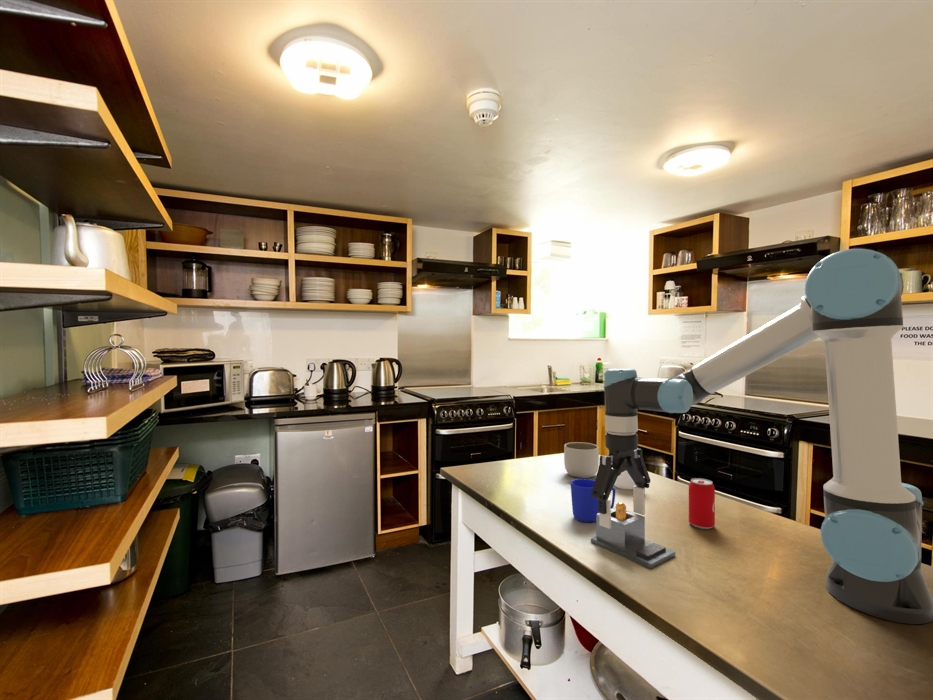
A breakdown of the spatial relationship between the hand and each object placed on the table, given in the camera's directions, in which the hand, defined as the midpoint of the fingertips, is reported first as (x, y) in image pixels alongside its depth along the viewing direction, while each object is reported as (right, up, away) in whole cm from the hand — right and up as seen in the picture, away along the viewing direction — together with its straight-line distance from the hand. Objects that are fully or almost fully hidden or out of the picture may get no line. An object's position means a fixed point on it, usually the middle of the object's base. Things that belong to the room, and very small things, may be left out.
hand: (622, 519), depth 108 cm
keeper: (+1, -6, -2) cm, 7 cm away
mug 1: (-3, -6, +16) cm, 17 cm away
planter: (+5, -5, +57) cm, 57 cm away
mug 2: (+17, -6, +43) cm, 46 cm away
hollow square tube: (0, -5, +1) cm, 5 cm away
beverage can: (+25, -6, +11) cm, 28 cm away
